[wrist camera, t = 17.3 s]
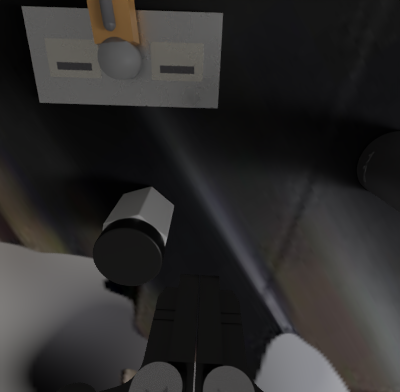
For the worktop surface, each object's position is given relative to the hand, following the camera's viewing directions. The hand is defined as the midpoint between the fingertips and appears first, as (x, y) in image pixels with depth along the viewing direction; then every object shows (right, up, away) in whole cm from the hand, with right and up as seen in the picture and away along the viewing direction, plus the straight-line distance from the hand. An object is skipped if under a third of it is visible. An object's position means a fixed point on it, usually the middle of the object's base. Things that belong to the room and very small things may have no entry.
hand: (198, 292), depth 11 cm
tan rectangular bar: (-9, +24, +19) cm, 32 cm away
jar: (-8, +1, +32) cm, 33 cm away
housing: (-9, +21, +24) cm, 32 cm away
